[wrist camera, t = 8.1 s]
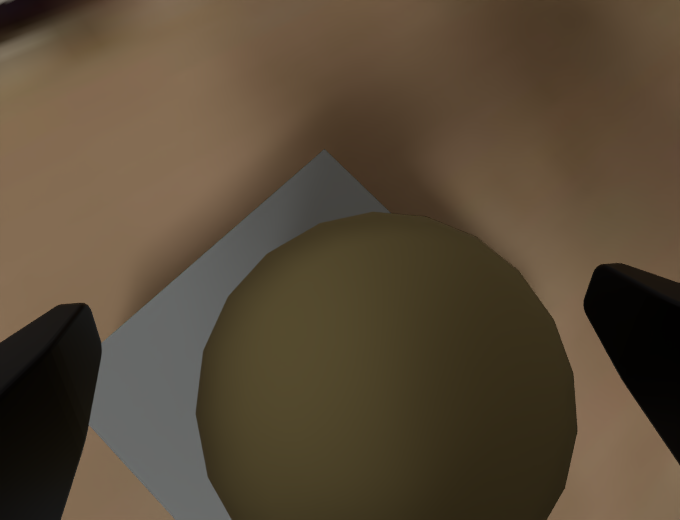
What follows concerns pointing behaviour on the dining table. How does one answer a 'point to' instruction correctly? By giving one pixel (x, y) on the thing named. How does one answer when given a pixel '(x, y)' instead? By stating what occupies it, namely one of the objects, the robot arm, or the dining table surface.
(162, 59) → the dining table surface
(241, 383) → the cork
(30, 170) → the dining table surface
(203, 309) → the podium
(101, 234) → the dining table surface
